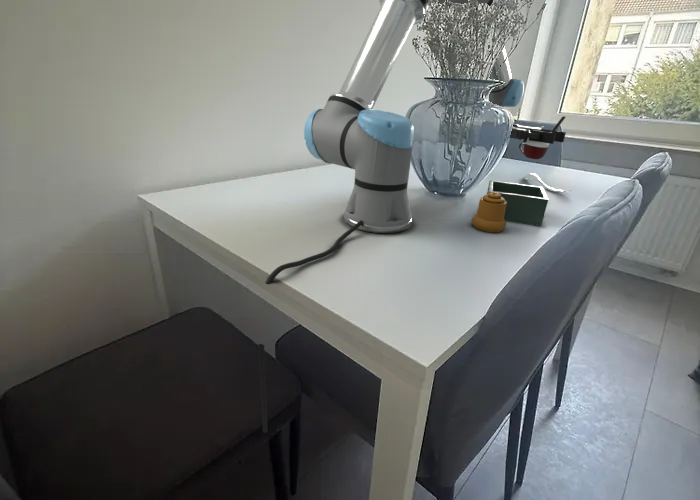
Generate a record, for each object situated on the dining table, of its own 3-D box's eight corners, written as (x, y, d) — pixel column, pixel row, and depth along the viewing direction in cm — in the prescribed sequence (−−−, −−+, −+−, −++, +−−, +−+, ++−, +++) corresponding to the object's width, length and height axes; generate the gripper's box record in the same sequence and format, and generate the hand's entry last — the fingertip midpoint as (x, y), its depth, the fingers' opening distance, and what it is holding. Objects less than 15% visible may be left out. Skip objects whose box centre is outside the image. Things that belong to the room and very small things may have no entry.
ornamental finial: (500, 236, 85) (466, 228, 88) (507, 226, 90) (475, 219, 94) (509, 201, 81) (473, 194, 85) (515, 193, 87) (482, 187, 91)
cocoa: (513, 155, 114) (523, 112, 109) (529, 154, 116) (539, 112, 111) (539, 162, 106) (551, 116, 101) (555, 161, 108) (568, 116, 103)
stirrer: (578, 183, 117) (566, 184, 115) (575, 195, 118) (563, 195, 117) (531, 171, 135) (520, 172, 133) (529, 182, 136) (518, 182, 134)
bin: (541, 226, 92) (548, 199, 89) (483, 217, 96) (489, 191, 93) (536, 211, 102) (543, 187, 100) (484, 203, 106) (489, 180, 103)
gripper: (496, 137, 128) (569, 149, 112) (463, 140, 116) (539, 154, 101) (501, 113, 125) (577, 122, 109) (468, 114, 113) (547, 124, 98)
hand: (559, 137), depth 105 cm, fingers closed on cocoa, 6 cm apart
